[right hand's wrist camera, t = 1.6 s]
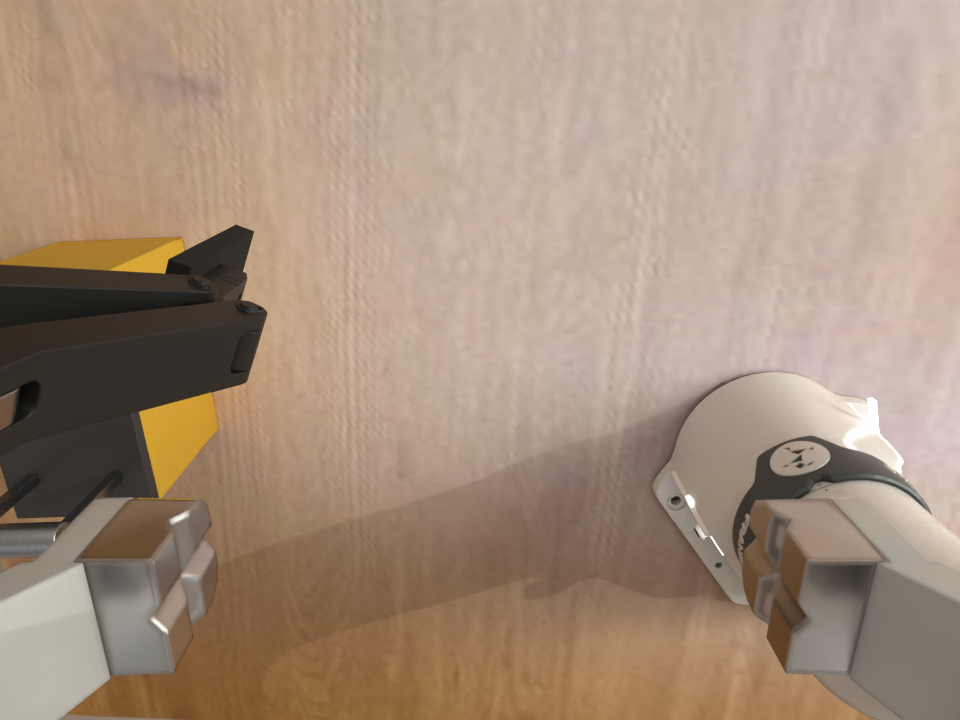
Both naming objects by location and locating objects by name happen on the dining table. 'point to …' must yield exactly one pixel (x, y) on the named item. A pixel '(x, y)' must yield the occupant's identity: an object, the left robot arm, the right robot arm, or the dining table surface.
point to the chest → (166, 427)
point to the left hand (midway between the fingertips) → (74, 196)
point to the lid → (71, 479)
